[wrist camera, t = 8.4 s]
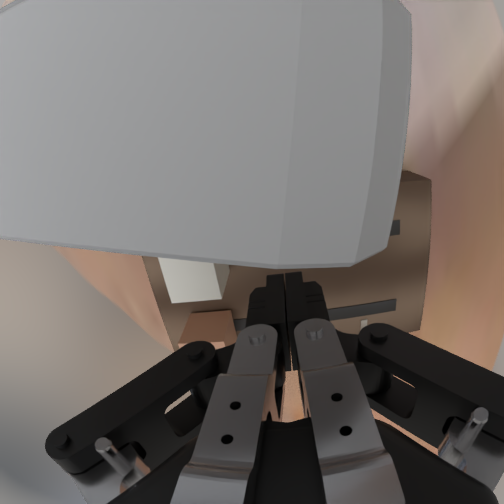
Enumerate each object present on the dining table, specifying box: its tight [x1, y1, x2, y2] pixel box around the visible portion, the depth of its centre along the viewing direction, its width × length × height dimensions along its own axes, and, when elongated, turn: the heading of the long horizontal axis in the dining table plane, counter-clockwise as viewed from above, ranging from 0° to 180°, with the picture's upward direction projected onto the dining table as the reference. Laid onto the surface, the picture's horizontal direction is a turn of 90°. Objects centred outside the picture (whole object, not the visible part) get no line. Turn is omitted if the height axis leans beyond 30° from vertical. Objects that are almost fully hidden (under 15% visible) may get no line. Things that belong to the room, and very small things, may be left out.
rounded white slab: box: [0, 0, 412, 269], centre depth 12 cm, size 29×8×18 cm, turn 86°
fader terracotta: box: [178, 310, 237, 350], centre depth 20 cm, size 3×3×4 cm
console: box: [142, 171, 432, 351], centre depth 22 cm, size 12×20×4 cm, turn 99°
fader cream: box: [158, 257, 230, 303], centre depth 18 cm, size 3×3×4 cm
